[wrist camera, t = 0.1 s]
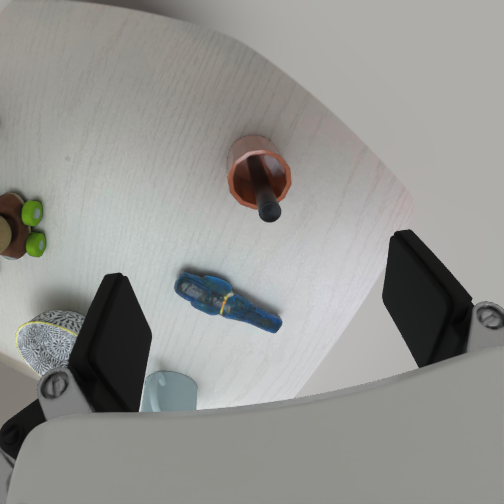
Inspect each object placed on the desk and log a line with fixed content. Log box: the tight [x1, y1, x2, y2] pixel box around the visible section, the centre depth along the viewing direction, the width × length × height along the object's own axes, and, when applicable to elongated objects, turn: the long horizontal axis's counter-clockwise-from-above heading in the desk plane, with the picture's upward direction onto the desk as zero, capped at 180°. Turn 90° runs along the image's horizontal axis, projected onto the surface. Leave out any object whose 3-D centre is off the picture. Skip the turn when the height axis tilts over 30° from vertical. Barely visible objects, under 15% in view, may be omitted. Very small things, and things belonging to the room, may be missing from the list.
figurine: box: [174, 272, 282, 333], centre depth 39 cm, size 5×4×15 cm
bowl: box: [15, 310, 85, 377], centre depth 39 cm, size 16×16×8 cm
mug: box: [141, 371, 197, 412], centre depth 45 cm, size 14×9×10 cm
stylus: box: [247, 155, 281, 222], centre depth 26 cm, size 1×1×13 cm
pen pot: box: [227, 135, 291, 209], centre depth 29 cm, size 5×5×7 cm
